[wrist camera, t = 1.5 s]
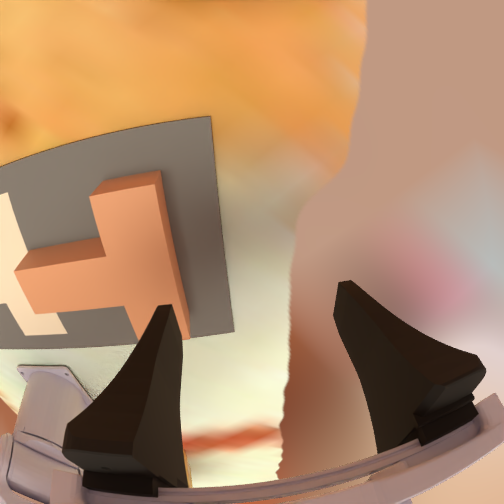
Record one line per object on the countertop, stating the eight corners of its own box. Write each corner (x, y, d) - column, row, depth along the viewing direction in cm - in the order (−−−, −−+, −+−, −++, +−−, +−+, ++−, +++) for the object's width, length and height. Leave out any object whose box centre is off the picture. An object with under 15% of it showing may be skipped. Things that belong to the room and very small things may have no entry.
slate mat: (233, 328, 27) (234, 332, 26) (-19, 346, 23) (-20, 348, 23) (210, 116, 17) (210, 116, 17) (-86, 209, 14) (-88, 211, 13)
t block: (189, 312, 24) (190, 339, 22) (65, 325, 23) (56, 349, 20) (160, 170, 18) (154, 184, 16) (13, 203, 17) (-7, 221, 14)
